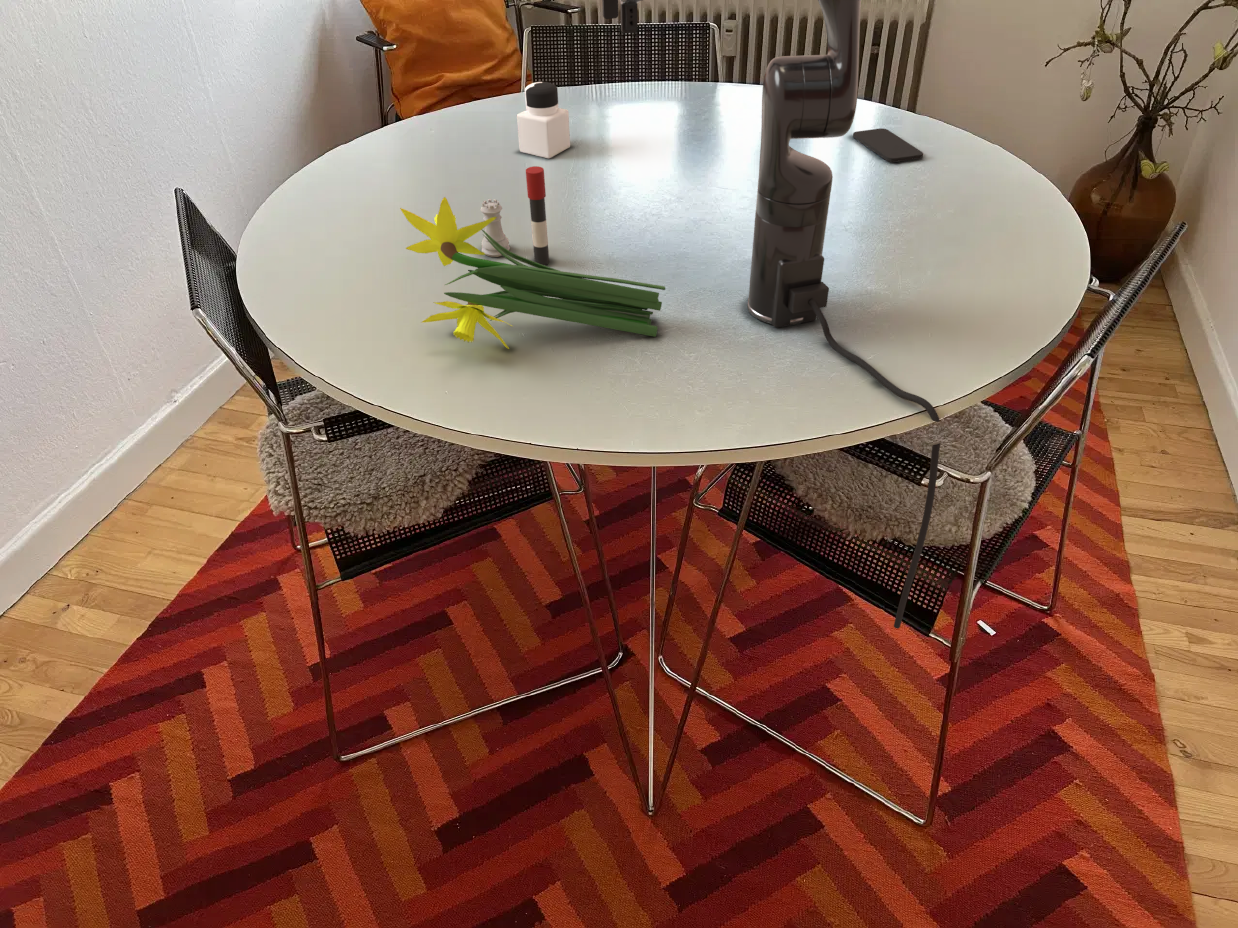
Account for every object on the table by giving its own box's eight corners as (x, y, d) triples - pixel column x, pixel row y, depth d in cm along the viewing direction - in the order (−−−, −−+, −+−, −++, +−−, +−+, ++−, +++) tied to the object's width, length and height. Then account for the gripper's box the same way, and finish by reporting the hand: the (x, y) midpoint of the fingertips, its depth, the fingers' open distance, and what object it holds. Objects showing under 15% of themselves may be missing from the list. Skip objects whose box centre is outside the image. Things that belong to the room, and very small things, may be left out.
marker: (552, 264, 138) (545, 171, 129) (535, 267, 138) (527, 174, 129) (548, 257, 140) (541, 165, 131) (531, 260, 140) (523, 167, 131)
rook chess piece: (516, 250, 142) (511, 202, 137) (494, 261, 140) (489, 211, 135) (497, 242, 145) (492, 194, 140) (475, 252, 142) (469, 203, 137)
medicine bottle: (571, 147, 176) (567, 82, 168) (549, 159, 171) (545, 93, 164) (541, 140, 179) (536, 76, 171) (519, 152, 174) (513, 87, 167)
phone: (885, 127, 178) (926, 154, 167) (884, 132, 179) (925, 158, 168) (850, 132, 177) (889, 159, 166) (850, 136, 177) (889, 163, 166)
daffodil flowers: (660, 375, 116) (380, 327, 109) (635, 371, 131) (385, 329, 123) (683, 242, 115) (400, 184, 107) (655, 253, 129) (403, 202, 121)
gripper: (662, -102, 116) (661, 35, 126) (627, -117, 126) (628, 11, 136) (606, -98, 114) (609, 41, 124) (575, -113, 124) (580, 16, 135)
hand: (619, 25), depth 130 cm, fingers open, 8 cm apart
